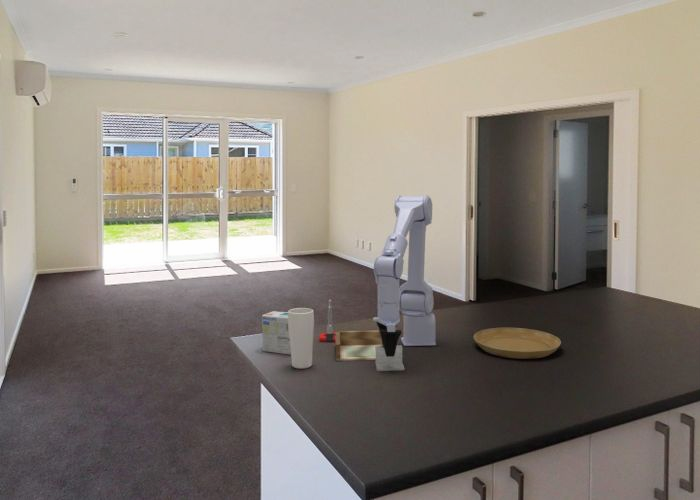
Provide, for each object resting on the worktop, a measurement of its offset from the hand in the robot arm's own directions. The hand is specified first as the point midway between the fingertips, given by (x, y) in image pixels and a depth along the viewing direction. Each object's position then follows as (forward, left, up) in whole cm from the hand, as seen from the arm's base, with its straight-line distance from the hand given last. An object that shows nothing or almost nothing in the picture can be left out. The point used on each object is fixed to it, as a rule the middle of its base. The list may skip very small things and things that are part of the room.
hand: (388, 352), depth 152 cm
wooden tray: (+6, -11, -3) cm, 13 cm away
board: (+6, -11, -3) cm, 13 cm away
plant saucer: (-38, -12, -4) cm, 40 cm away
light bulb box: (+29, -15, -4) cm, 33 cm away
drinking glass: (+23, 0, -4) cm, 23 cm away
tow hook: (+15, -27, -4) cm, 31 cm away
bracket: (0, +2, -3) cm, 4 cm away
